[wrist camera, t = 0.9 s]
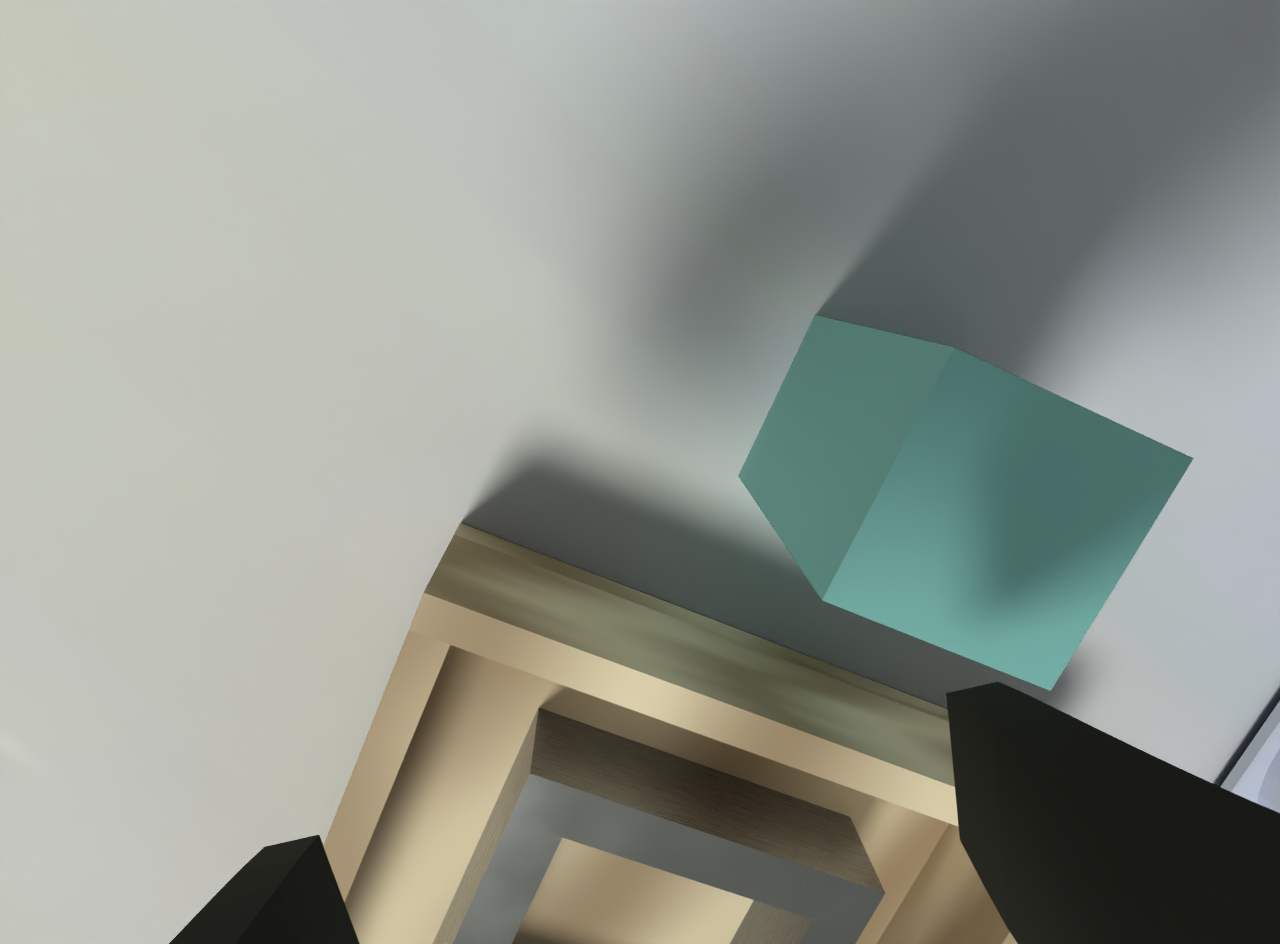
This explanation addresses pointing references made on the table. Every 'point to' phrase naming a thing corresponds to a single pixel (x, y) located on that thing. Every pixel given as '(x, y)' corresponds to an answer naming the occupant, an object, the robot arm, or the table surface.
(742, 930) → the frame
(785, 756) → the oak box
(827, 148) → the table surface
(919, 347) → the teal peg
